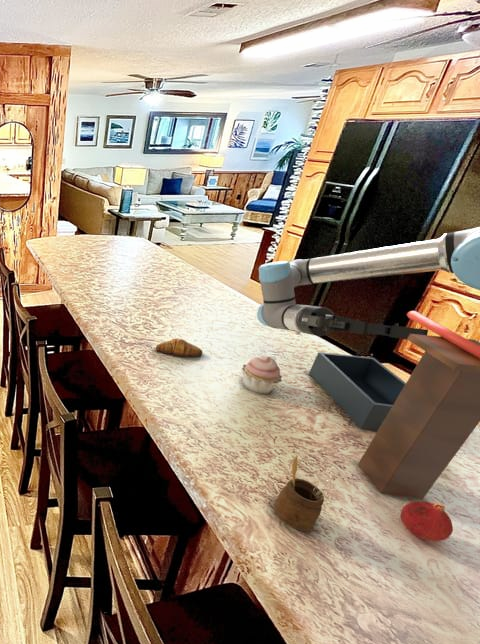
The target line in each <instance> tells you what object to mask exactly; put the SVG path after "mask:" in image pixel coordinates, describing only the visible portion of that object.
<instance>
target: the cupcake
mask: <svg viewBox="0 0 480 644" xmlns="http://www.w3.org/2000/svg"><path fill="white" fill-rule="evenodd" d="M241 372H242V375H243V376H242V384H243V386H244V388H247V389H248V390H249V391H251V392H253V393H257V394H261V395H263V394H264V395H265V394H269V393H271V391H272V390H273V389H274V388H275V387H276V386H277V385H279V384H280V383H282V382H283V379H282V378H283V376H282V375H281V370H280V367H279V365H278V363H277V362H276V360H275V359H274V358H272V357H271V356H268V355H264V356H260V357H253V358H251V359H250V360H249V361H248V362H247V363H246V364H242V367H241Z"/></svg>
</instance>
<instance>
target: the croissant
mask: <svg viewBox="0 0 480 644" xmlns="http://www.w3.org/2000/svg"><path fill="white" fill-rule="evenodd" d="M155 351H156V352H158V353H160V354H165V355H171V356H176V357H180V358H182V357H190V358H193V357H195V358H197V357H201V356H202V355H203V350H202V349H201V348H200V347H198V346H197V345H195V344H192V343H191V342H188V341H186V340H185V339H183V338H172V339H171V340H167V341H164V342H160V343H159V344H156V346H155Z"/></svg>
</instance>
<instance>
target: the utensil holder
mask: <svg viewBox="0 0 480 644" xmlns="http://www.w3.org/2000/svg"><path fill="white" fill-rule="evenodd" d="M297 471H298V454H296V455H295V456H294V457H293V458H292V465H291V474H292V478H291V479H290V480H289V481H288V482H287V483H286V485H285V486H283V487H282V488H281V490H280V491H279V493H278V495H277V497H276V499H275V502H274V503H273V511H274V514H275V515H276V516H277V518H278V519H279V520H280V521H281V522H282V523H283V524H285V525H286V526H288V527H290V528H291V529H294V530H296V531H302V532H307V531H310V530H311V529H312V528H313V527H314V525H315V524H316V522H317V521H318V519H319V517H320V515H321V513H322V509H323V505H324V502H325V499H327V498H329V497H330V496H331V494H330V493H331V491H327V492H326V493H323V491H324V490H325V489H326V488H327V487H328V486H329V485H330V484H331V485H332V488H335V484H334V483H332V481H331V480H330V481H328V479H326V478H323V479H322V480H317V481H316V482H315V484H313V482H310V481H308V480H306V479H302V478H296V473H297ZM322 481H324V482H322ZM326 481H327V482H326ZM321 483H322V484H323V483H326V484H325V485H324V486H323V487H322V488H321V489H320V488H319V487H318V486H319V485H320V484H321ZM334 492H335V490H333V491H332V493H334Z"/></svg>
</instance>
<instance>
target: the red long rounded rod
mask: <svg viewBox="0 0 480 644" xmlns="http://www.w3.org/2000/svg"><path fill="white" fill-rule="evenodd" d="M406 316H407V318H408V319H410V320H411V321H413V322H415V323H417V324H418V325H421V326H422V327H423V328H426V330H428V331H431V332H432V333H434V334H436V335H437V336H440V337H443V338H444V339H446V340H448V341H450V342H451V343H453V344H455V345H457V346H458V347H460V348H462V349H463V350H465V351H467V352H469V353H470V354H472V355H474V356H475V357H477V358H479V359H480V346H478V345H477V344H475V343H473V342H471V341H469V340H468V339H469V338H466V337H464V336H462V335H460V334H458V333H457V332H455V331H453V330H451V329H449V328H448V327H445V326H444V325H442V324H441V323H438V322H437V321H435V320H433V319H431V318H430V317H428V316H426V315H425V314H422V313H421V312H419V311H416V310H409V311H408V312H407V313H406Z"/></svg>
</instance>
